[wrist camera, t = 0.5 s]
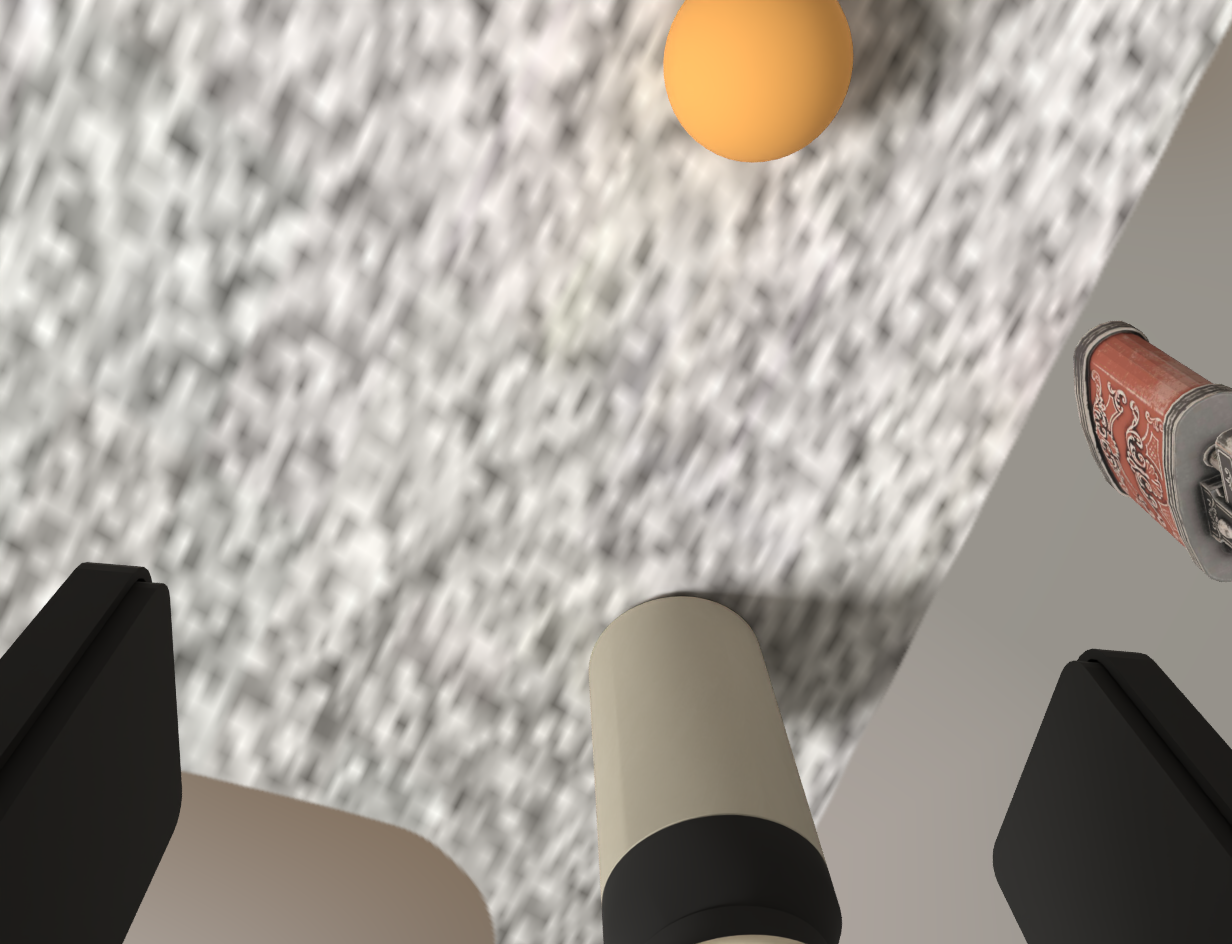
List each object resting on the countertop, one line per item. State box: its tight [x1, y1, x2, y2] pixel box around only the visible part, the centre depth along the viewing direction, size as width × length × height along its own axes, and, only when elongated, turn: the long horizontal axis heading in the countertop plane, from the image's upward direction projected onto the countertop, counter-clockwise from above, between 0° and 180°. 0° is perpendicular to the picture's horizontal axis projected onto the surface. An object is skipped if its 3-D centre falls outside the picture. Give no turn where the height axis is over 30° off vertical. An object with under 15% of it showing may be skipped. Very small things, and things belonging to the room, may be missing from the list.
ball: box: [664, 0, 853, 162], centre depth 33 cm, size 6×6×6 cm
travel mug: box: [589, 596, 842, 944], centre depth 39 cm, size 8×8×18 cm
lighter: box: [1073, 321, 1232, 582], centre depth 38 cm, size 8×3×10 cm, turn 25°
